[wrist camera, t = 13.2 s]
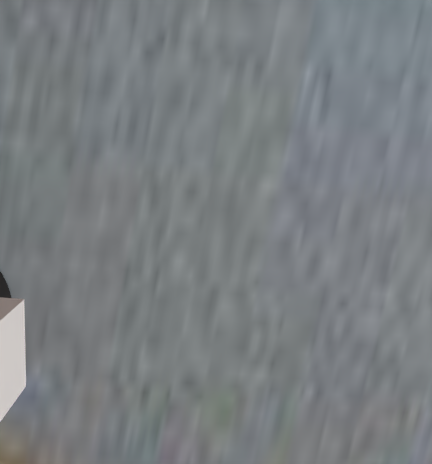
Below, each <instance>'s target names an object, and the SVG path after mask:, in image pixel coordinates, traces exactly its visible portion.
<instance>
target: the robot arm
mask: <svg viewBox="0 0 432 464" xmlns="http://www.w3.org/2000/svg"><path fill="white" fill-rule="evenodd" d="M25 387H26V361H25V312H24V299H14V298H11V295H10V291H9V288H8V286H7V283H6V281H5V279H4V277H3V275H2V274H1V272H0V421H1V420H2V419H3V417H4V416H5V414H6V413H7V412H8V410H9V409H10V408H11V406H12V405H13V403H14V402H15V401H16V399H17V398H18V396H19V395H20V394H21V392H22V391H23V390H24V388H25Z"/></svg>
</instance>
